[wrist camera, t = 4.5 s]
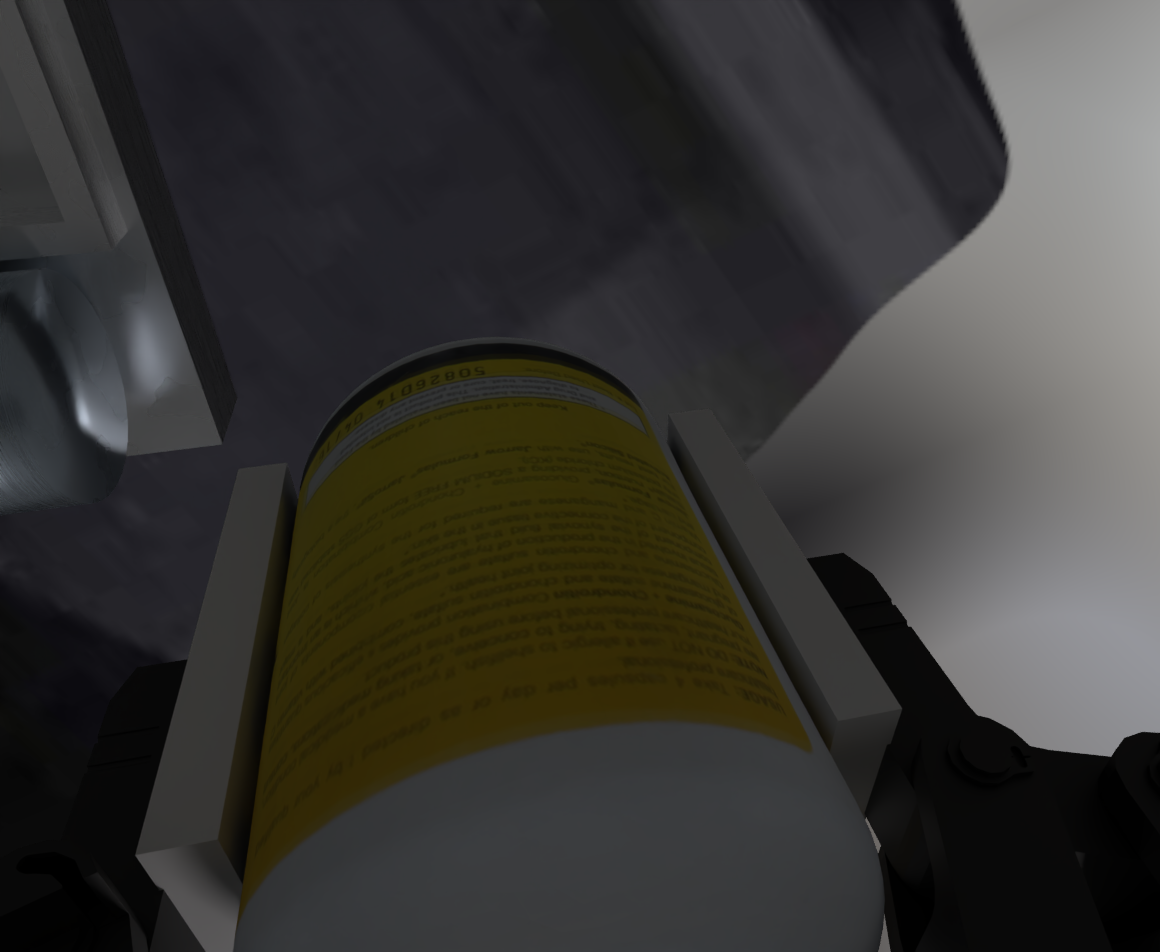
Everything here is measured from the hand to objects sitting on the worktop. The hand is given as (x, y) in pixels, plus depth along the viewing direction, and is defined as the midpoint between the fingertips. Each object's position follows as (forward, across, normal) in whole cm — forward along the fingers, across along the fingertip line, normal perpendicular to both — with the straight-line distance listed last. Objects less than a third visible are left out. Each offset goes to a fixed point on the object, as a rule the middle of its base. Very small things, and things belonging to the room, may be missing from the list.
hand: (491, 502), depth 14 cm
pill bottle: (+1, 0, 0) cm, 1 cm away
